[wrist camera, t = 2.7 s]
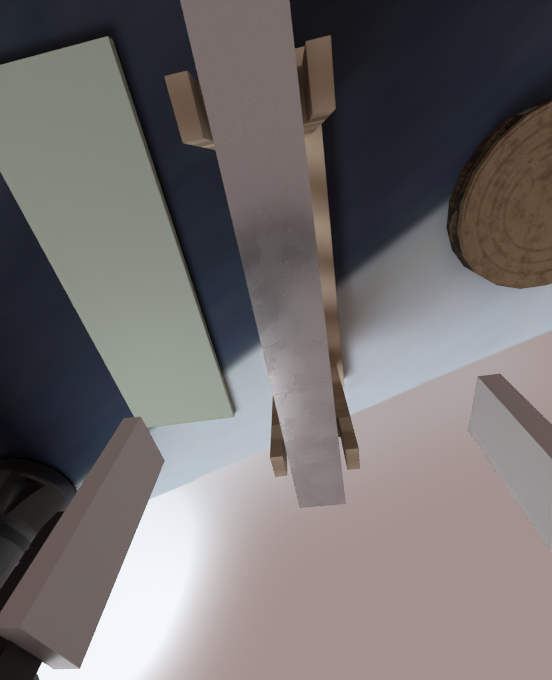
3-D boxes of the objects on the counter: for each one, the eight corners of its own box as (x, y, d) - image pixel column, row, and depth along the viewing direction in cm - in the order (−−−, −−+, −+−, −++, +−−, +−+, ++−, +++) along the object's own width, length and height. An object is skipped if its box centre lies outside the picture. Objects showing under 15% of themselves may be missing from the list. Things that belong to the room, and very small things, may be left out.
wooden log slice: (638, 217, 30) (672, 222, 28) (476, 305, 35) (492, 317, 33) (610, 44, 24) (650, 29, 21) (419, 180, 29) (432, 181, 26)
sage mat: (234, 413, 44) (233, 417, 43) (142, 424, 45) (140, 428, 45) (112, 39, 24) (107, 36, 24) (-42, 80, 26) (-51, 78, 25)
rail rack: (342, 379, 40) (373, 492, 26) (275, 388, 41) (270, 501, 27) (312, 50, 24) (351, -102, 10) (204, 76, 25) (107, -31, 11)
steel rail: (338, 464, 30) (345, 503, 27) (297, 468, 30) (299, 507, 27) (278, -43, 14) (276, -114, 10) (192, -19, 14) (161, -79, 10)
